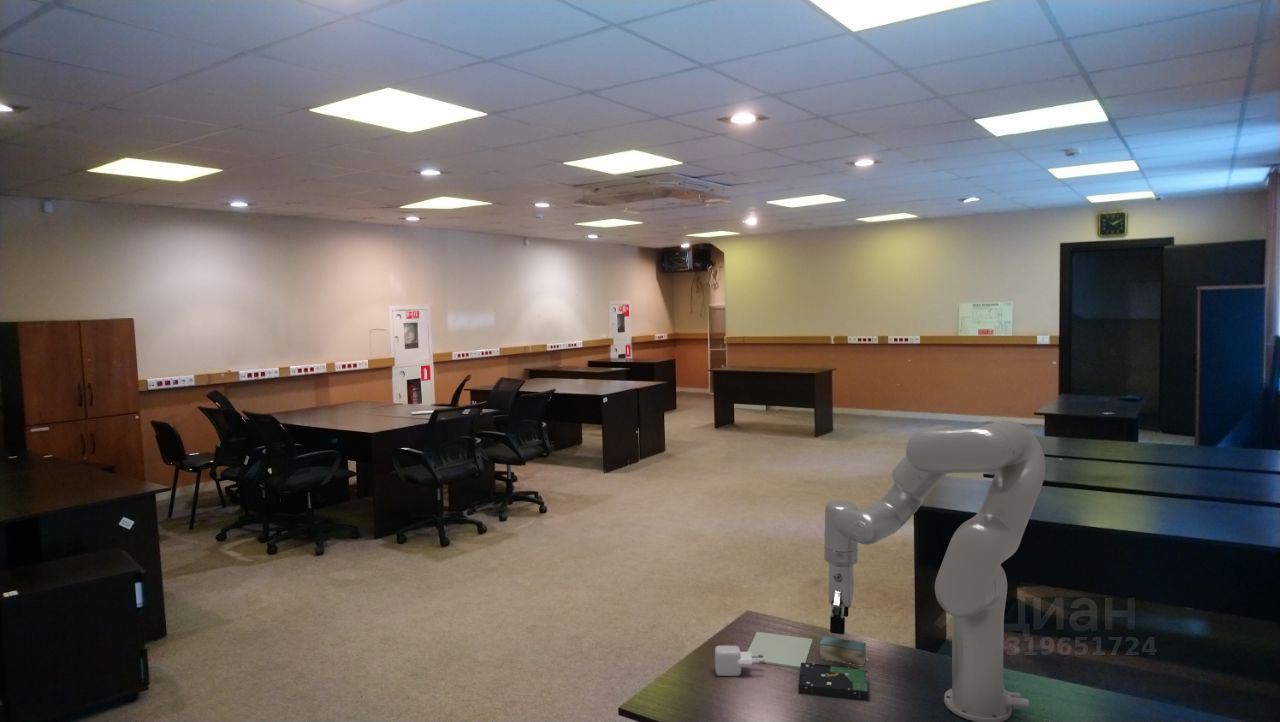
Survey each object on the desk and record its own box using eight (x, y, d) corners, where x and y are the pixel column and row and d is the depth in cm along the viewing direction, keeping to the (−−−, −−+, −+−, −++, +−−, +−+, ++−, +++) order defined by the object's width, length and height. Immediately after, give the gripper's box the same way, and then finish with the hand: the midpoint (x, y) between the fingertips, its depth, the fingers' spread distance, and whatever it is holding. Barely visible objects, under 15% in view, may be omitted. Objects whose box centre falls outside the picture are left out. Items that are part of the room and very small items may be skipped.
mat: (812, 641, 181) (812, 639, 181) (803, 669, 167) (803, 667, 167) (757, 634, 186) (756, 631, 186) (744, 660, 172) (744, 658, 172)
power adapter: (763, 667, 169) (762, 643, 168) (765, 678, 164) (764, 653, 163) (714, 667, 169) (714, 643, 169) (715, 678, 165) (715, 653, 164)
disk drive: (798, 697, 157) (870, 703, 153) (798, 684, 157) (870, 690, 153) (800, 673, 167) (868, 679, 163) (800, 661, 167) (867, 667, 163)
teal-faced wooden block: (866, 659, 171) (865, 642, 171) (863, 667, 168) (863, 650, 168) (823, 652, 176) (823, 636, 175) (820, 660, 172) (819, 643, 172)
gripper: (854, 569, 161) (852, 643, 162) (860, 544, 177) (858, 611, 178) (819, 565, 163) (818, 637, 165) (828, 540, 179) (827, 607, 181)
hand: (839, 624), depth 172 cm, fingers open, 9 cm apart
